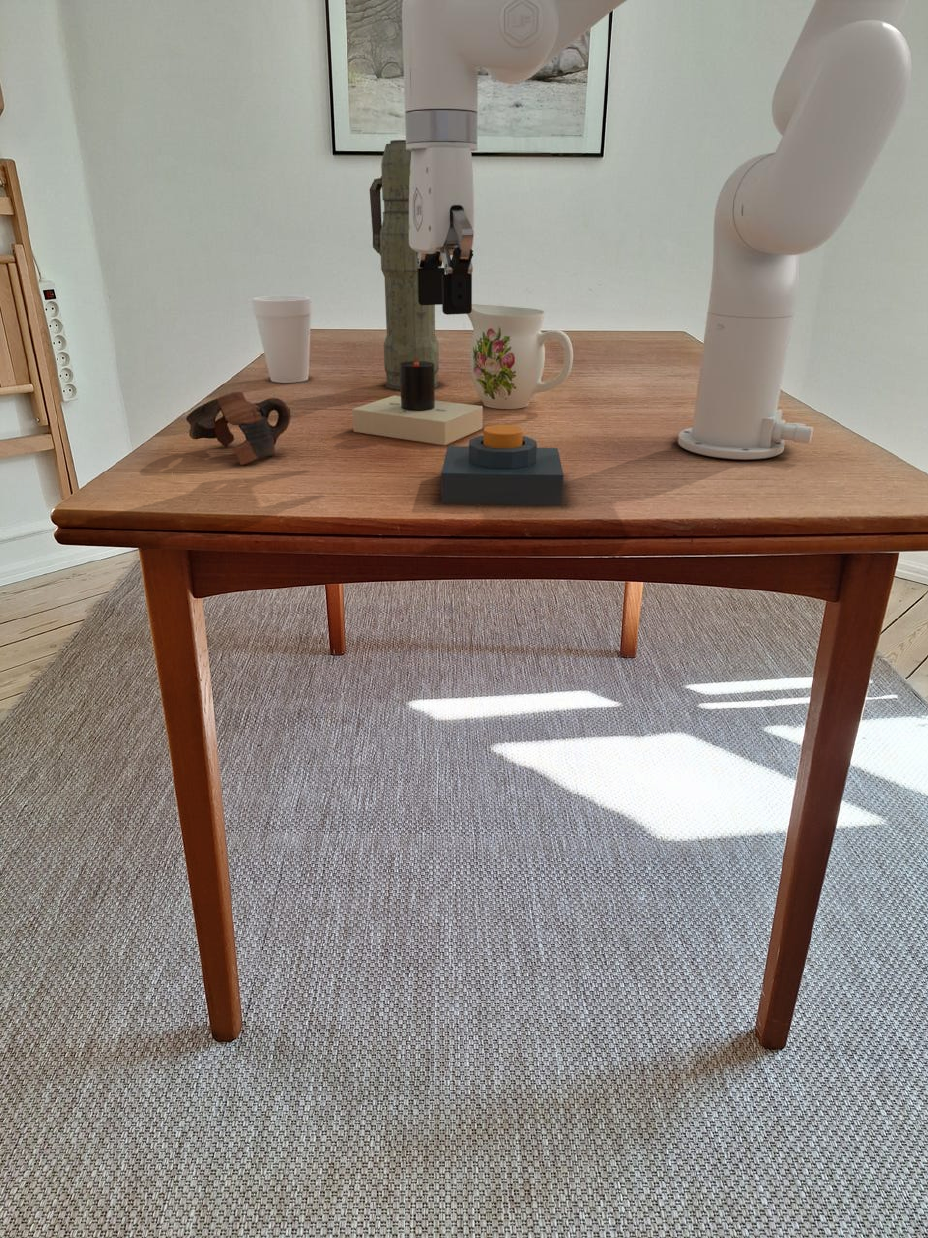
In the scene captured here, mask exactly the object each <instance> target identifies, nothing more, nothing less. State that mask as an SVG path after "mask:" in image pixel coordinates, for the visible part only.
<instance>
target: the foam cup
mask: <svg viewBox="0 0 928 1238" xmlns="http://www.w3.org/2000/svg"><path fill="white" fill-rule="evenodd" d="M251 301H252V302H251V303H252V309H253V310H252V311H253V315H255V320H256V324H257V329H258V333H259V337H260V341H261V345H262V349H263V354H264V360H265V363H266V366H267V371H268V376H269V377H270V381H271V382H273V383H278V384H279V383H281V384H293V383H302V382H306V381H307V380H309V374H310V373H309V372H310V350H311V349H310V347H311V329H312V328H311V325H312V314H313V304H312V297H310V296H307V295H294V294H293V295H289V294H286V295H285V294H283V295H282V294H281V295H280V294H279V295H263V296H256V297H255V296H254V297H253V298H252V299H251Z"/></svg>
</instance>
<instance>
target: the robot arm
mask: <svg viewBox="0 0 928 1238" xmlns="http://www.w3.org/2000/svg"><path fill="white" fill-rule="evenodd" d="M627 1H628V0H402V3H401V24H402V25H401V26H402V28H401V30H402V31H401V32H402V61H403V62H402V64H403V90H404V91H403V92H404V93H403V94H404V127H405V140H406V150H407V151H412V154H411V164H410V180H409V245H410V247H411V248H412V249H413V250H414V251H416V252H418V257H417V266H418V268H417V274H418V303H419V304H420V305H435V306H441V309H442V310H441V311H442V313H443V314H444V315H447V316H450V315H467V314H469V313H471V311H472V304H473V269H474V266H473V262H472V259H473V257H474V253H473V252H474V249H472V248H473V247H474V239H475V238H474V237H475V193H474V192H475V191H474V171H473V161H472V160H473V158H472V152H474V151H478V129H479V128H478V125H479V124H478V120H479V119H478V117H479V115H478V110H479V109H478V106H479V105H478V103H479V102H478V101H479V100H478V98H479V97H478V96H479V95H478V94H479V93H478V92H479V91H478V89H479V88H478V87H479V86H478V84H479V83H478V81H479V80H478V78H479V70H480V68H483V69H484V70H485V71H486V73H487V74H488V75H489V76H490V77H491V78H493V79H494V80H496V81H497V82H500V83H503V84H509V85H514V84H520V83H522V82H526V81H527V80H529V79H530V78H533V76H534V75H536V74H537V73H538V72H540V71H541V70H542V69H543V68H544V67H545V66H547V65H548V64H549V63H550V62H551V61H553V60H554V59H555V58H556V57H558V56H559V55H560V54H561V53H562V52H564V51H565V50H566V49H568V47H570V46H571V45H572V44H573V43H575V42H576V41H577V40H578V39H579V38H582V36H583V35H585V34H586V33H587V32H589V30H590V29H592V28H593V27H594V26H595V25H597V24H598V23H599V22H600V21H602V19H604V18H605V17H606V16H607V15H609V14H610V13H611V12H612V11H614V10H615V9H617V8H618V7H620V6H621V5H623V4H624V3H625V2H627ZM909 2H910V0H815V1H814V3H813V5H812V8H811V10H810V12H809V14H808V17H807V19H806V21H805V23H804V25H803V27H802V29H801V32H800V33H799V36H798V38H797V40H796V43H795V44H794V47H793V49H792V51H791V53H790V56H789V58H788V60H787V62H786V64H785V66H784V69H783V70H782V72H781V75H780V76H779V78H778V81H777V83H776V86H775V89H774V93H773V97H772V101H771V103H772V104H771V114H772V116H771V117H772V121H773V124H774V126H775V128H776V129H775V130H776V131H777V132H778V133H779V134H780V136H782V137H781V139H780V141H779V143H778V145H777V147H776V149H775V151H774V152H769V153H764V154H763V153H762V154H760V155H757V156H754V157H752V158H750V159H748V160H746V161H744V162H743V163H742V164H740V165H739V166H738V167H736V168H735V169H734V171H733V172H732V173H731V174H730V175H729V176H728V177H727V179H726V180H725V182H724V184H723V186H722V188H721V190H720V192H719V195H718V197H717V201H716V205H715V209H714V217H713V247H712V249H713V253H712V273H711V281H710V292H709V299H708V307H707V312H706V313H707V314H706V320H705V328H704V335H703V336H704V337H703V344H702V351H701V352H702V353H701V359H700V367H699V375H698V381H697V388H696V389H697V390H696V397H695V403H694V413H693V419H692V427H689V428H686V429H683V430H681V431H680V432H679V433H678V437H677V444H678V445H679V446H680V447H681V448H683V449H685V450H686V451H688V452H690V453H694V454H697V455H701V456H705V457H711V458H717V459H727V460H745V461H747V460H748V461H749V460H762V459H763V460H765V459H770V458H773V457H776V456H779V455H780V454H782V453H783V452H784V449H785V441H792V442H793V443H798V444H799V443H801V444H808V445H809V444H811V441H812V438H813V433H814V426H807V425H806V423H800V422H788V421H787V422H786V419H782V416H783V410H782V409H778V406H779V401H780V395H781V391H782V384H783V378H784V372H785V367H786V361H787V357H788V356H787V355H788V349H789V344H790V338H791V333H792V326H793V322H794V316H795V313H796V306H797V301H798V294H799V293H798V292H799V287H800V267H801V266H800V264H801V263H800V261H801V260H800V257H801V255H803V254H807V253H809V252H812V251H813V250H816V249H817V248H819V247H821V246H822V245H824V244H825V243H826V242H827V241H829V239H831V237H833V235H834V234H835V233H836V232H837V231H838V230H839V228H840V227H841V225H842V224H843V223H844V222H845V220H846V218H847V217H848V215H849V213H850V211H851V209H852V208H853V206H854V204H855V203H856V200H857V199H858V197H859V195H860V193H861V191H862V189H863V187H864V185H865V183H866V181H867V179H868V177H869V176H870V173H871V172H872V170H873V167H874V166H875V165H876V162H877V160H878V158H879V157H880V155H881V153H882V150H883V149H884V146H885V145H886V143H887V141H888V139H889V137H890V135H891V134H892V132H893V129H894V127H895V125H896V124H897V121H898V119H899V117H900V115H901V113H902V111H903V108H904V105H905V103H906V100H907V97H908V93H909V89H910V85H911V80H912V68H913V67H912V64H913V63H912V56H911V55H912V54H911V51H910V47H909V45H908V43H907V40H906V38H905V37H904V35H903V34H902V33H901V31H899V29H898V27H899V25H900V22H901V20H902V18H903V15H904V13H905V11H906V9H907V6H908V4H909ZM435 252H436V253H435Z"/></svg>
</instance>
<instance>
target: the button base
mask: <svg viewBox="0 0 928 1238" xmlns="http://www.w3.org/2000/svg"><path fill="white" fill-rule="evenodd" d="M440 477H441V478H440V480H441V481H440V482H441V483H440V488H441V491H440V492H441V496H440V497H441V504H456V505H457V504H458V505H459V504H463V505H464V504H465V505H467V504H468V505H510V506H511V505H513V506H515V505H516V506H517V505H518V506H562V505H563V491H564V489H563V488H564V471H563V467H562V463H561V457H560V452H559V449H558V447H538V444H537V440H535V439H533V438H531V437H528V436H525V435H523V438H522V446H521V447H516V448H491V447H486V446H484V445H483V435H478V436H476V437H473V438H471V439H469V443H468V446H462V445H461V446H460V445H459V446H457V445H448V446H447V447H446V452H445V456H444V461H443V464H442V468H441V472H440Z"/></svg>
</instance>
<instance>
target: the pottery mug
mask: <svg viewBox="0 0 928 1238" xmlns="http://www.w3.org/2000/svg"><path fill="white" fill-rule="evenodd" d="M273 411H276V413H277V420H276V423H275V425H272V424H270V422H269V416H270V413H271V412H273ZM219 413H221V414H222V416H221V417H220V418H217V416H218V415H219ZM291 417H292V414H291V409H290V408H289V406H288V405H287V402H285V401H284V400H282V399H281V398H278V397H277V398H276V397H271V398H270V397H269V398H267V399H264V400H262V401H260V402H254V403H253V402H252V401H249V400H247V399H246V397H245V395H244V393H243V392H242V391H235V392H230V393H228V394H227V393H226V394H224V395H222V396H219V397H216V398H215V399H214V398H213V399H211V400H209V401H207V402H204V403H203V404H202V405H200V406H198V407H197V408H195V409H194V410H192V411H191V412H190V413H188V415H187V416H186V418H185V419H186V422H187V423H188V424H189V425H190V429H189V434H188V435H189V437H190V438H191V439H192V440H199V439H207V440H210V439H211V440H212V439H213V440H214V439H216V440H217V442H219V444H221V445H222V446H224V447H228V446H229V445H230V444H232V443H233V442H235V441H234V440H235V435H234V434H233V433H232V432H231V430H230V428H229V425H228V424H230V425H232V426H237V427H238V428H239V430H240V431H241V432H242V434H243V435H244V437H245V440H244V441H243V442H241V443H239V444H237V445H236V446H233V447H232V452H233V454H234V455H235V456H236V459H237V461H238V463H239V465H240V466H244V465H246V464H247V465H248V464H249V463H253V462H254V461H256V460H258V459H261V458H267V457H270V456H275V455H276V448H275V445H276V444H277V440H278V439H279V437H280V436H281V435H282V434H284V433H285V431H287V429H288V427H289V425H290V422H291V419H292V418H291Z"/></svg>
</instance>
